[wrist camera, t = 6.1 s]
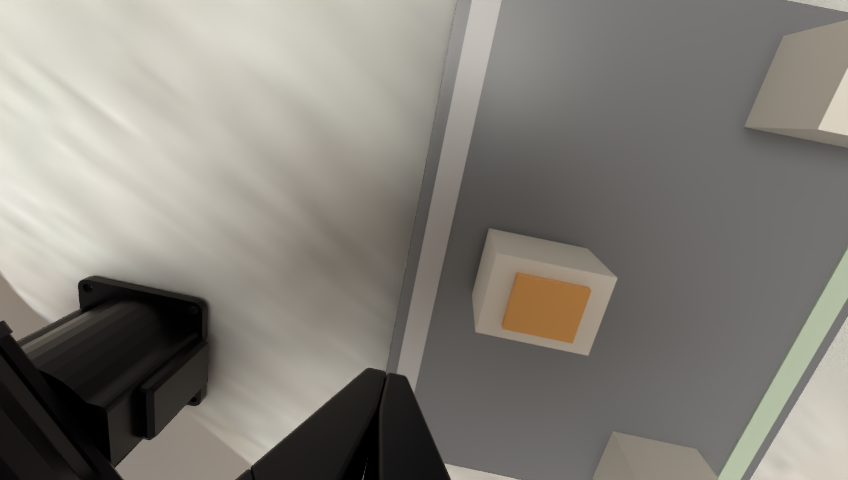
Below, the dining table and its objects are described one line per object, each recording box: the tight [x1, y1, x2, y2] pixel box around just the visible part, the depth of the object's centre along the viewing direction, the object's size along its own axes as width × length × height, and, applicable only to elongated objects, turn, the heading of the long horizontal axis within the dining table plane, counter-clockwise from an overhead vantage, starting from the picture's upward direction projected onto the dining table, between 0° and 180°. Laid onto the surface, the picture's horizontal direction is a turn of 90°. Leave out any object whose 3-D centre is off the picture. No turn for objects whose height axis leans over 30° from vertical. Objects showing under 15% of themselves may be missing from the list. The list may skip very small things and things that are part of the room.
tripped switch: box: [472, 228, 617, 356], centre depth 14 cm, size 4×3×3 cm
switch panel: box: [386, 0, 848, 480], centre depth 16 cm, size 18×22×5 cm
